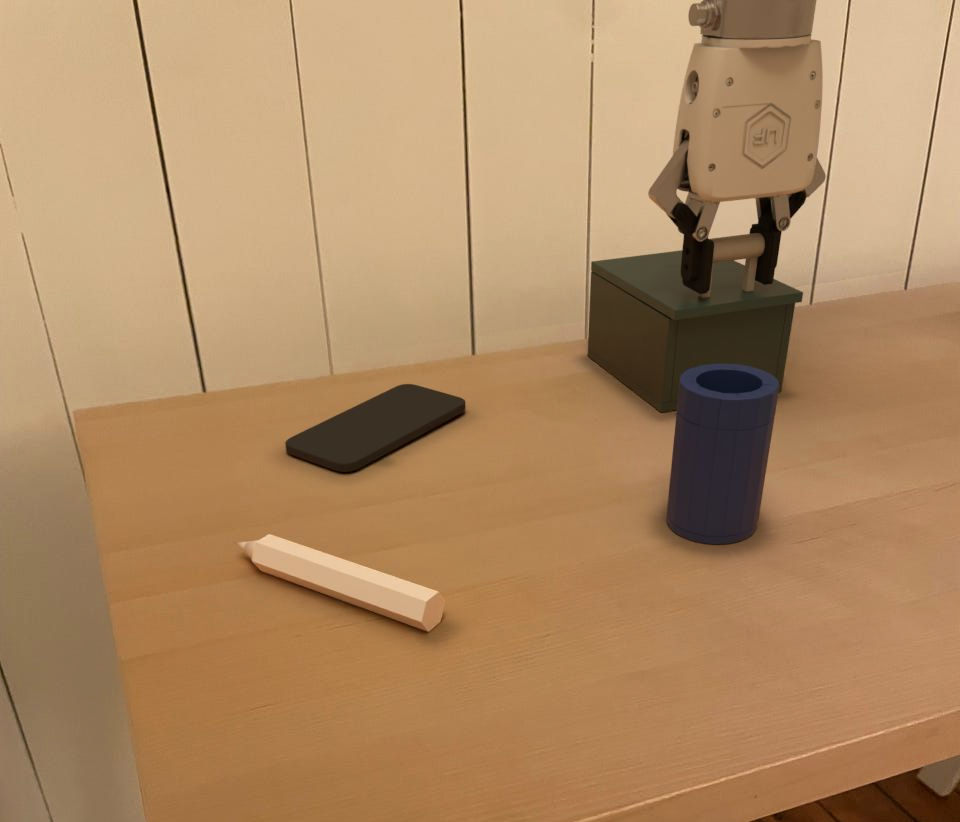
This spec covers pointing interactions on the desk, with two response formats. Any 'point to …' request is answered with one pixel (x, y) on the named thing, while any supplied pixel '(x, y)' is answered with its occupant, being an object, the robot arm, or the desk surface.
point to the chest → (679, 341)
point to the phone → (374, 427)
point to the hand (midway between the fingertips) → (727, 282)
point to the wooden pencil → (347, 581)
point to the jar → (720, 452)
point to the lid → (729, 283)
